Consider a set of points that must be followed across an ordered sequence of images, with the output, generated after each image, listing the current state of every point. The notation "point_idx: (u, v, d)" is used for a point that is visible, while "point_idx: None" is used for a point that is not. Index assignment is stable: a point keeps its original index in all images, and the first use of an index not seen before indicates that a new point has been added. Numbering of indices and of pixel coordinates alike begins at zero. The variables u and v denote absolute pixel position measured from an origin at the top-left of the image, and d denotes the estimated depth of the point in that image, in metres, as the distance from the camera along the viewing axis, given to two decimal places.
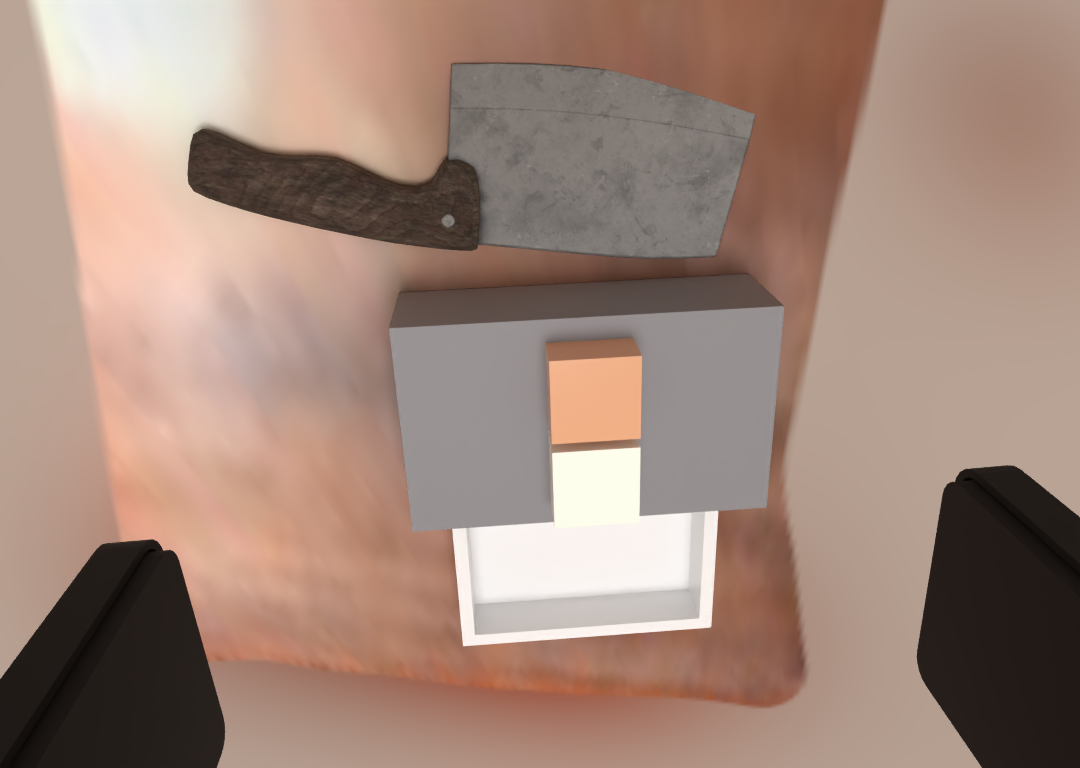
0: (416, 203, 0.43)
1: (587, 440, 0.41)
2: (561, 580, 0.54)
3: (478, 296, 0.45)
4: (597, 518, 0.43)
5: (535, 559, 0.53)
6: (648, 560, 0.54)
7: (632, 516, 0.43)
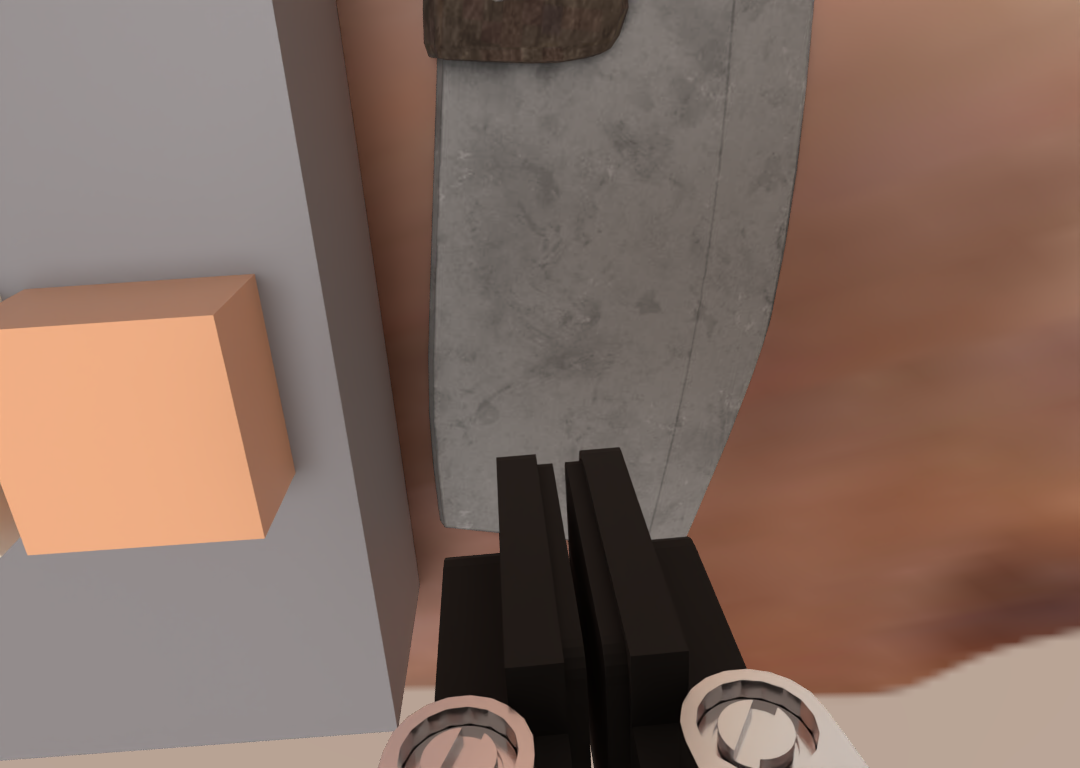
0: None
1: None
2: None
3: (334, 77, 0.19)
4: None
5: None
6: None
7: None
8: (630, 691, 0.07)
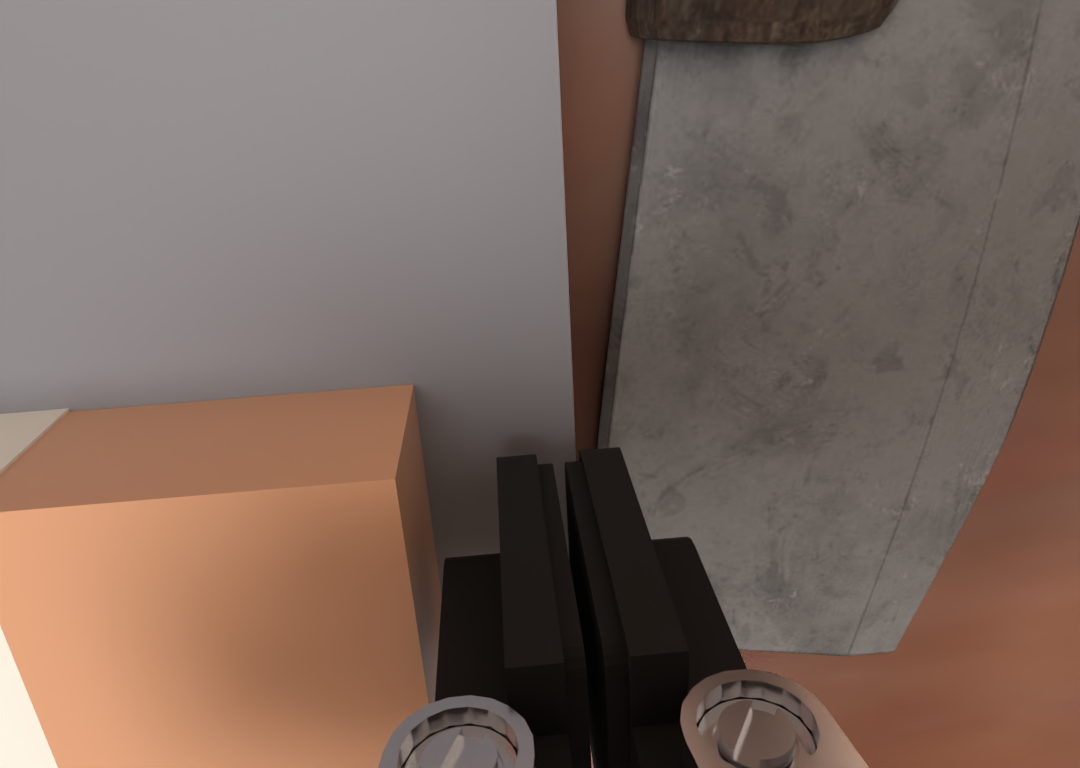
0: None
1: (19, 652, 0.09)
2: None
3: None
4: None
5: None
6: None
7: None
8: (630, 690, 0.07)
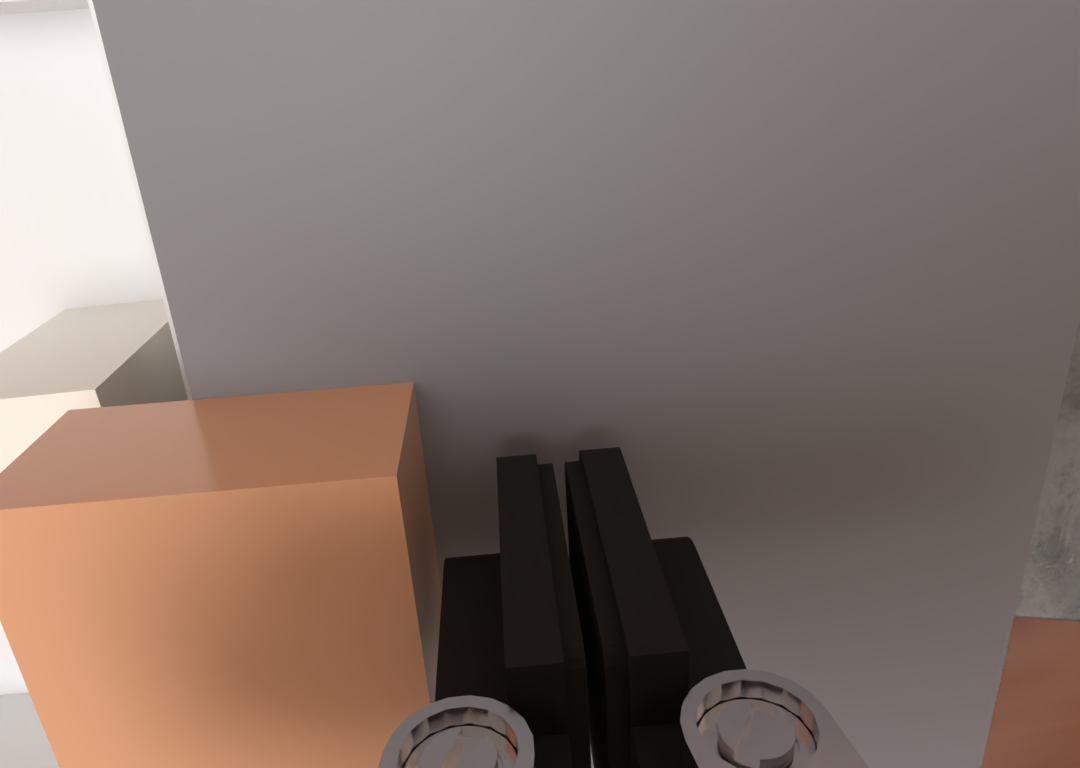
0: None
1: (20, 650, 0.09)
2: None
3: None
4: None
5: None
6: None
7: None
8: (630, 691, 0.07)
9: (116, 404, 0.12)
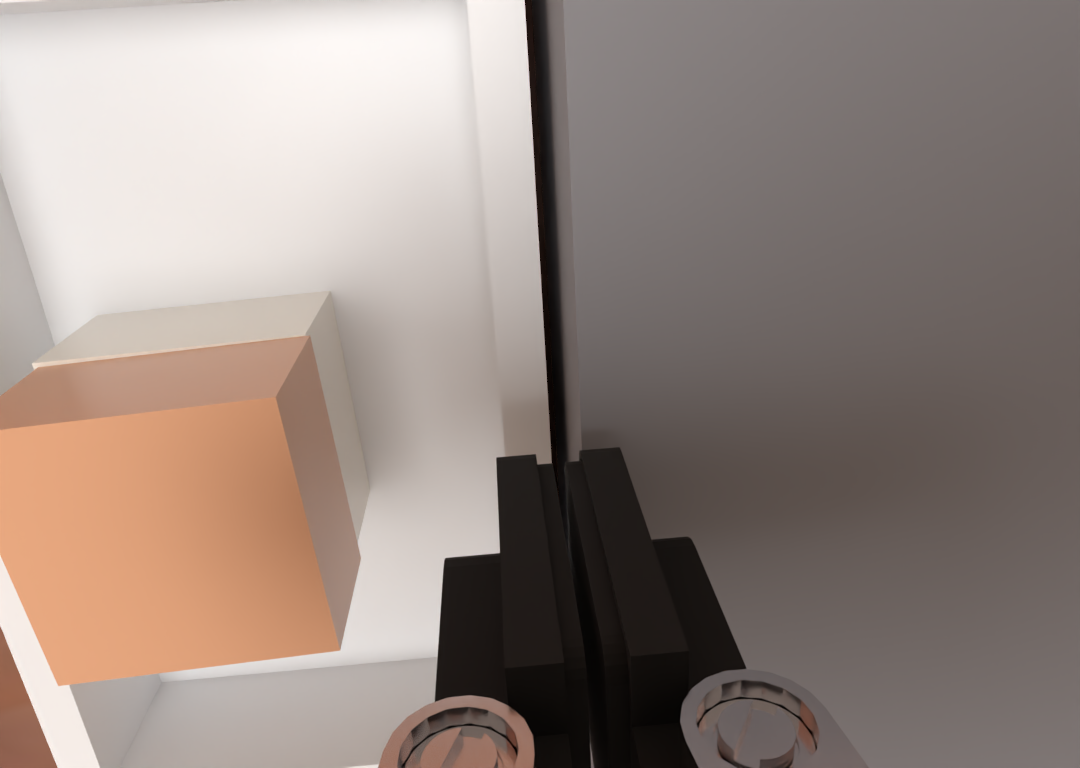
0: None
1: (2, 544, 0.12)
2: None
3: None
4: None
5: (205, 248, 0.15)
6: None
7: None
8: (630, 691, 0.07)
9: None
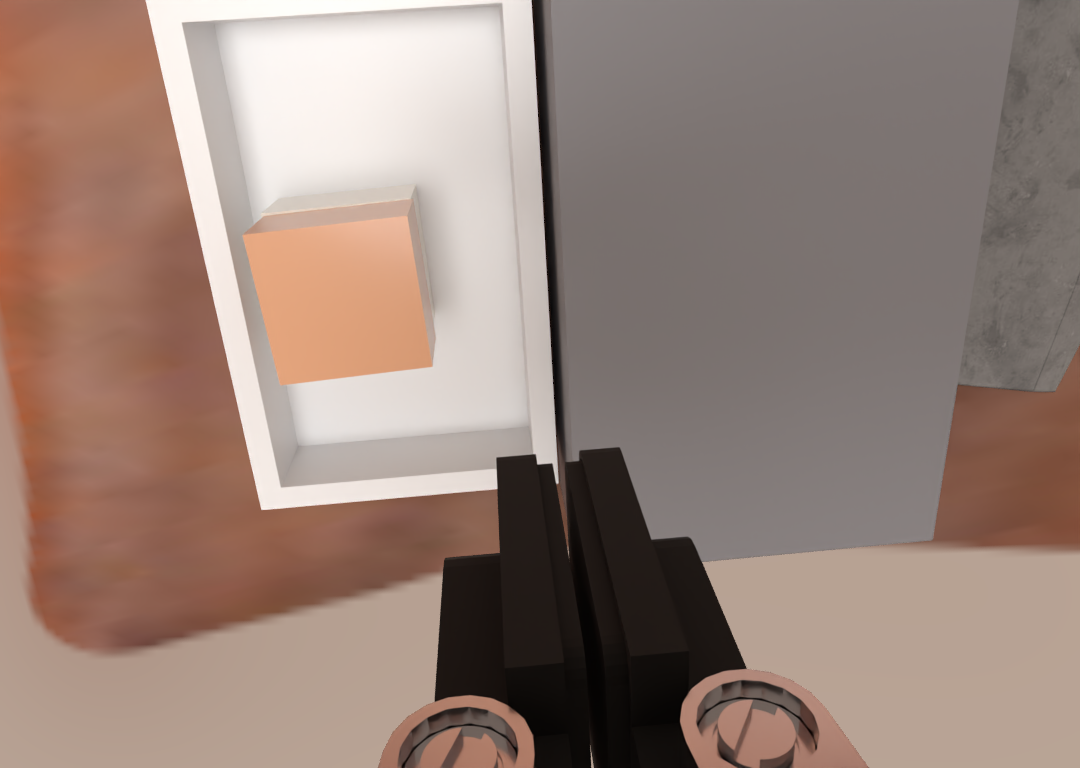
0: None
1: (261, 297, 0.23)
2: None
3: None
4: None
5: (344, 157, 0.26)
6: None
7: None
8: (630, 691, 0.07)
9: None
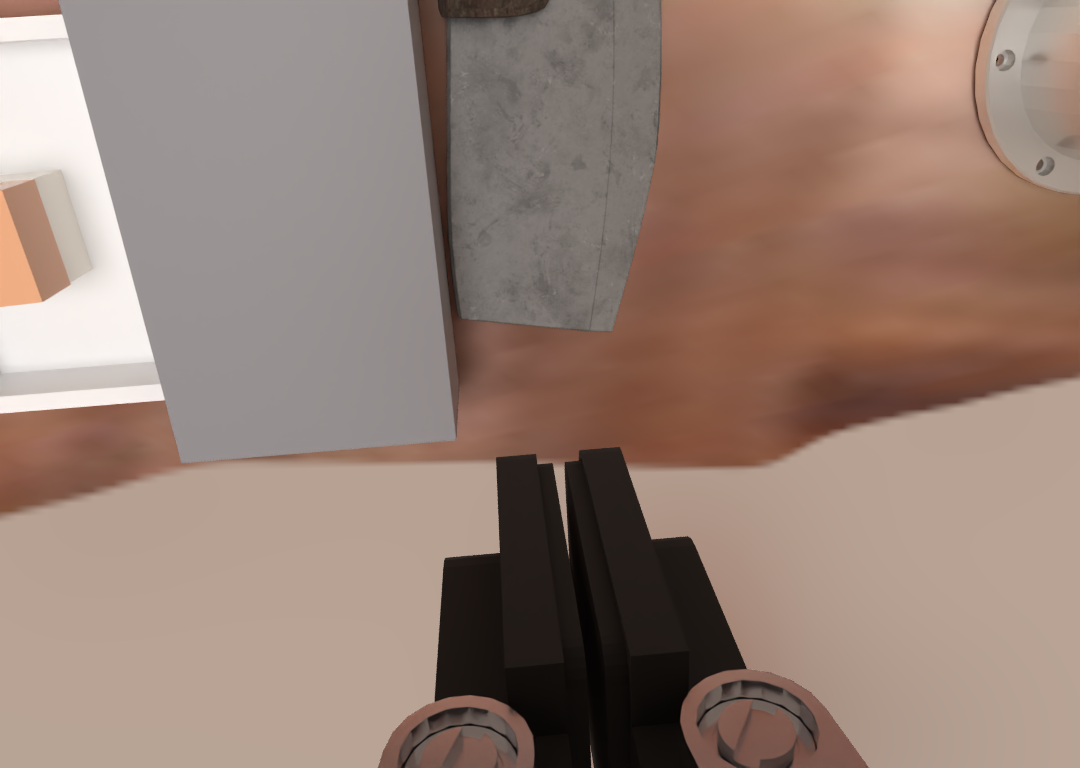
0: None
1: None
2: None
3: (422, 60, 0.34)
4: None
5: (2, 149, 0.35)
6: (38, 314, 0.38)
7: None
8: (630, 690, 0.07)
9: None
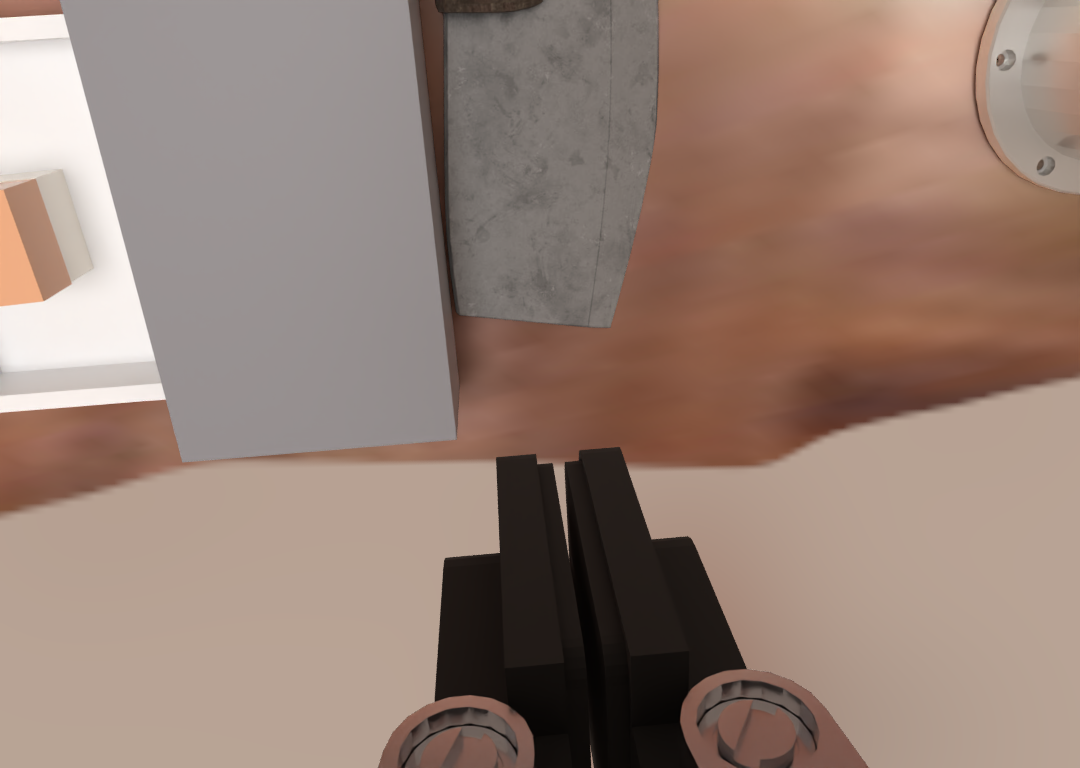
0: None
1: None
2: None
3: (422, 59, 0.34)
4: None
5: (4, 148, 0.35)
6: (39, 313, 0.38)
7: None
8: (630, 691, 0.07)
9: None
